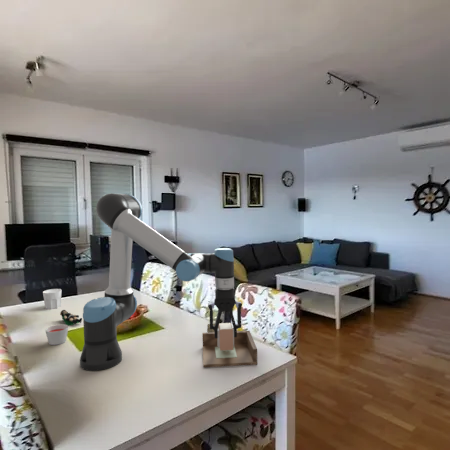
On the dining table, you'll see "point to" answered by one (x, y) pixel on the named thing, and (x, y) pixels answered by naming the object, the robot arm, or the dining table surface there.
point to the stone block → (210, 329)
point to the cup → (52, 298)
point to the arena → (243, 349)
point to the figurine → (70, 318)
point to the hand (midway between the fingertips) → (225, 345)
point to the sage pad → (225, 353)
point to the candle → (56, 334)
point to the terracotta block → (226, 336)
